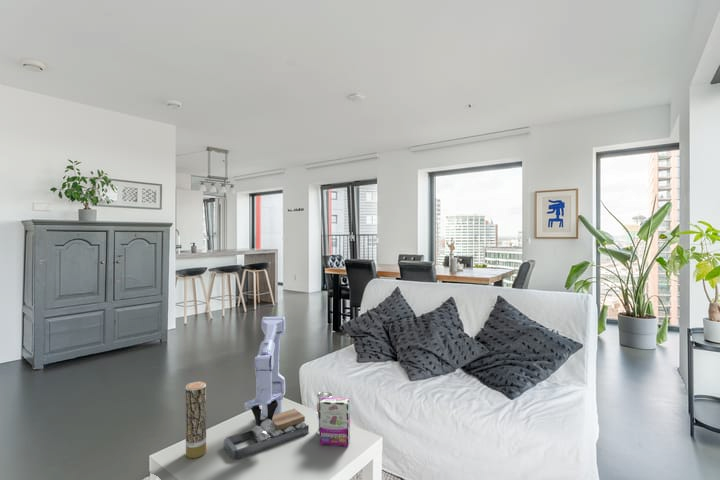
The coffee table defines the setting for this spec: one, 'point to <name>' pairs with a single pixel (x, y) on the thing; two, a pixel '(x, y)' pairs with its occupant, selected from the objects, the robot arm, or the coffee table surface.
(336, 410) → the candy bar box
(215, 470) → the coffee table surface
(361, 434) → the coffee table surface
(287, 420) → the slab
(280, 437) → the roller bed
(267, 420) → the roller
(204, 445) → the paper tube
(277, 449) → the coffee table surface
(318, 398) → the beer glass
